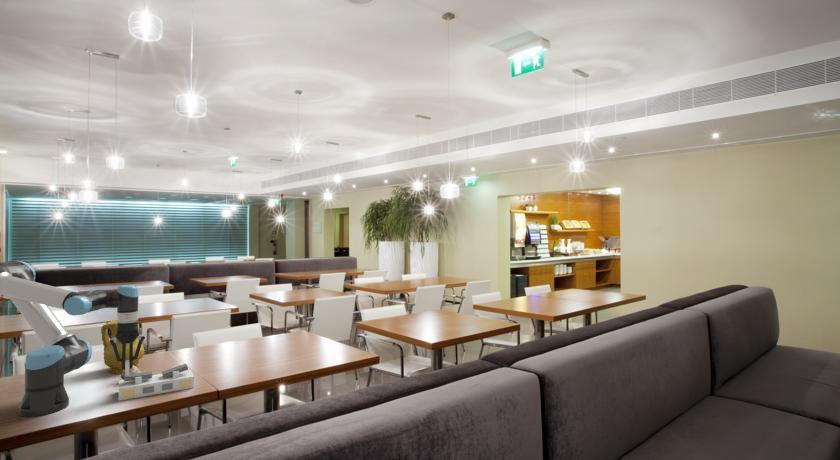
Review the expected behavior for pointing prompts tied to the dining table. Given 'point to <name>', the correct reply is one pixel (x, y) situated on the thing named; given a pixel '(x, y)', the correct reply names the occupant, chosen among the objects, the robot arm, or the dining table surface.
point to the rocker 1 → (132, 376)
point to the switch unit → (155, 385)
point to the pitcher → (109, 351)
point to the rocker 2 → (170, 371)
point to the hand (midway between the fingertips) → (127, 376)
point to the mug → (130, 371)
